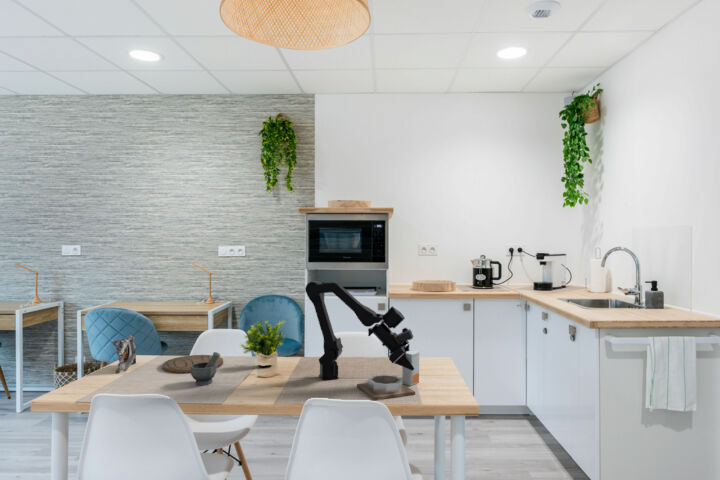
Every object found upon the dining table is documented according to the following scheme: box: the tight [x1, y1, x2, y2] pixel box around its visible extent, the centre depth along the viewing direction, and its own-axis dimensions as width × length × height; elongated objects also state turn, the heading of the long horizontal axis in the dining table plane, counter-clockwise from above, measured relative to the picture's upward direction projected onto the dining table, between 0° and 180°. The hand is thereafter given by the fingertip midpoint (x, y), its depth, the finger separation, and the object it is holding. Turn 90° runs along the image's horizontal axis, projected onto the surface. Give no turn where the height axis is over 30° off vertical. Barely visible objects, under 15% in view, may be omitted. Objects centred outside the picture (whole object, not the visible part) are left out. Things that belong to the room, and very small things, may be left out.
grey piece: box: [112, 334, 137, 374], centre depth 194 cm, size 15×4×13 cm, turn 7°
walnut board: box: [356, 382, 416, 401], centre depth 167 cm, size 16×16×1 cm
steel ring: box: [367, 374, 404, 393], centre depth 167 cm, size 12×12×3 cm
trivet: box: [162, 354, 224, 374], centre depth 200 cm, size 25×25×2 cm
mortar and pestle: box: [190, 351, 221, 387], centre depth 174 cm, size 11×9×12 cm
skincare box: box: [401, 349, 420, 387], centre depth 175 cm, size 6×4×12 cm
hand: (414, 366), depth 175 cm, fingers open, 9 cm apart
